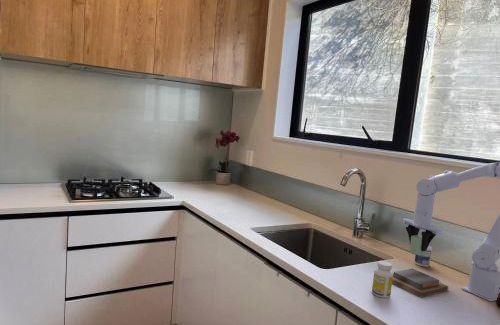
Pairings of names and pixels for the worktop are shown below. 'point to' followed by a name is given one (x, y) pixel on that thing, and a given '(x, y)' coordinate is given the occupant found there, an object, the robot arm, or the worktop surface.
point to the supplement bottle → (382, 280)
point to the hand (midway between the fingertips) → (418, 248)
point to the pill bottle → (424, 257)
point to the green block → (416, 245)
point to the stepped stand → (418, 282)
